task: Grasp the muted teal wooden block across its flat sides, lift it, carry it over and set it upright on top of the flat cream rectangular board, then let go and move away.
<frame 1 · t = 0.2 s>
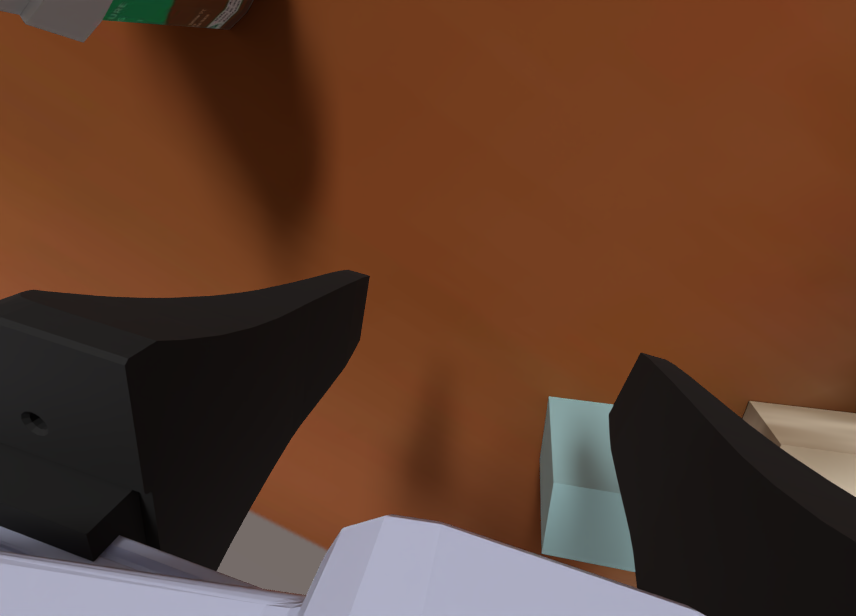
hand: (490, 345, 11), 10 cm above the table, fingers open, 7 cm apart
teal block: (586, 434, 24), on the table
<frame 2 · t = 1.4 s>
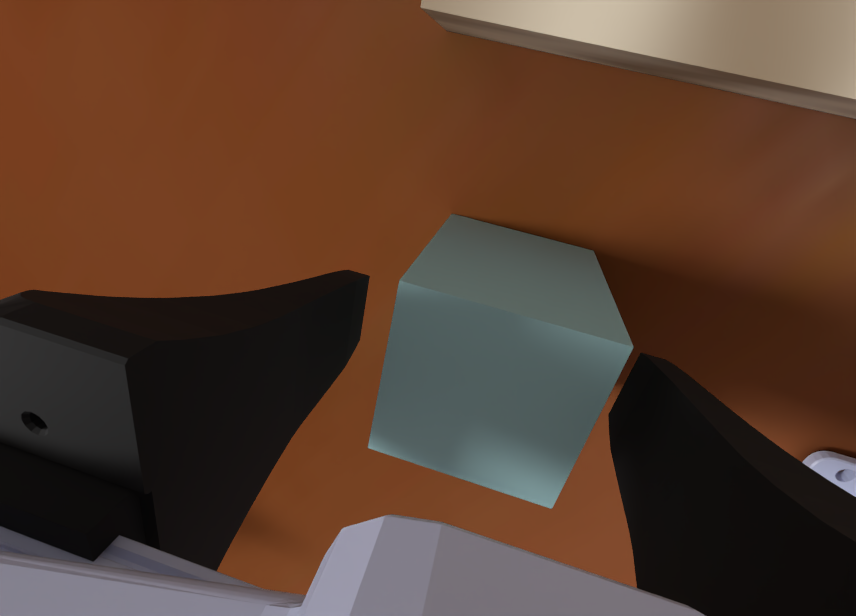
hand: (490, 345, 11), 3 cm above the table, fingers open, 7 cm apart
teal block: (501, 295, 14), on the table
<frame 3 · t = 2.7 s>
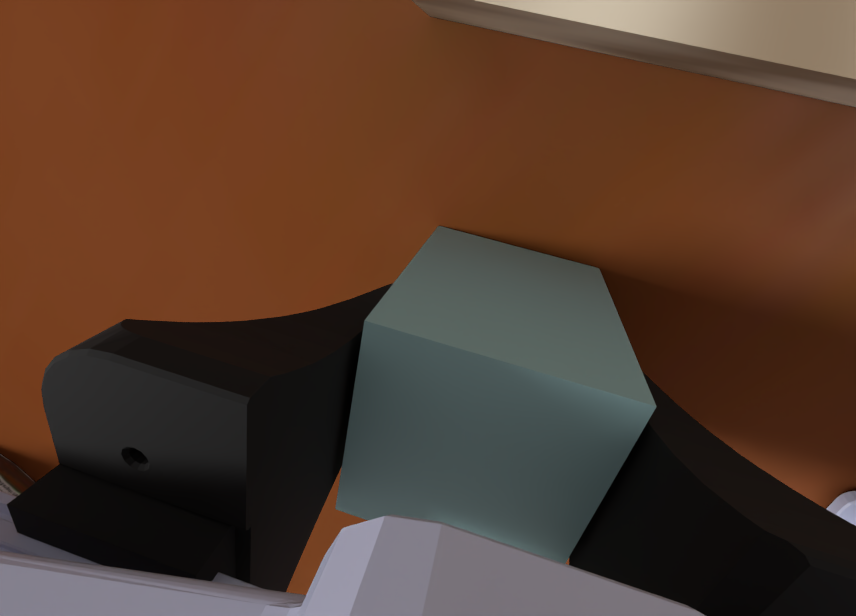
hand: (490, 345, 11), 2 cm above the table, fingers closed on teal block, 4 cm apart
teal block: (495, 316, 13), on the table, touching gripper
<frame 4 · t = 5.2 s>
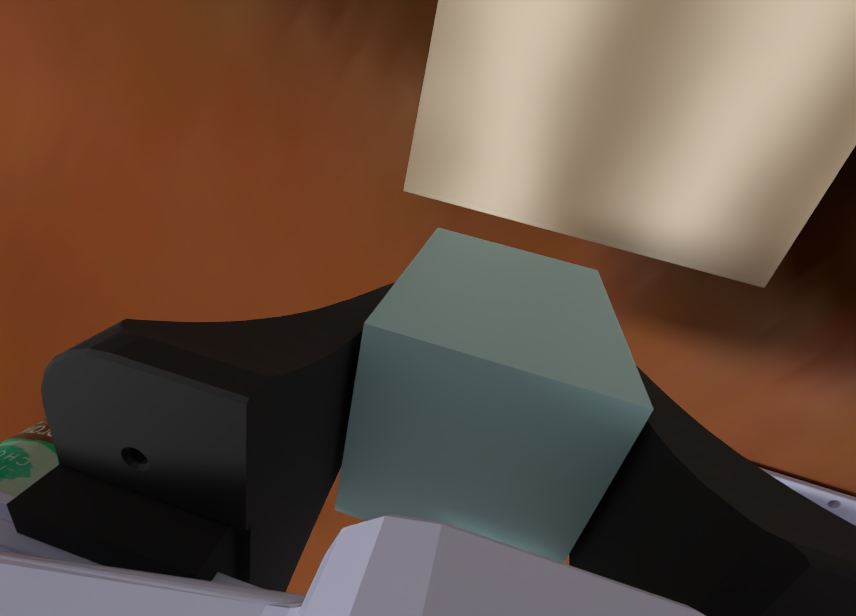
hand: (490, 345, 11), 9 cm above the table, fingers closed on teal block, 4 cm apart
food container: (83, 428, 32), on the table
teal block: (493, 318, 13), point 7 cm above the table, touching gripper
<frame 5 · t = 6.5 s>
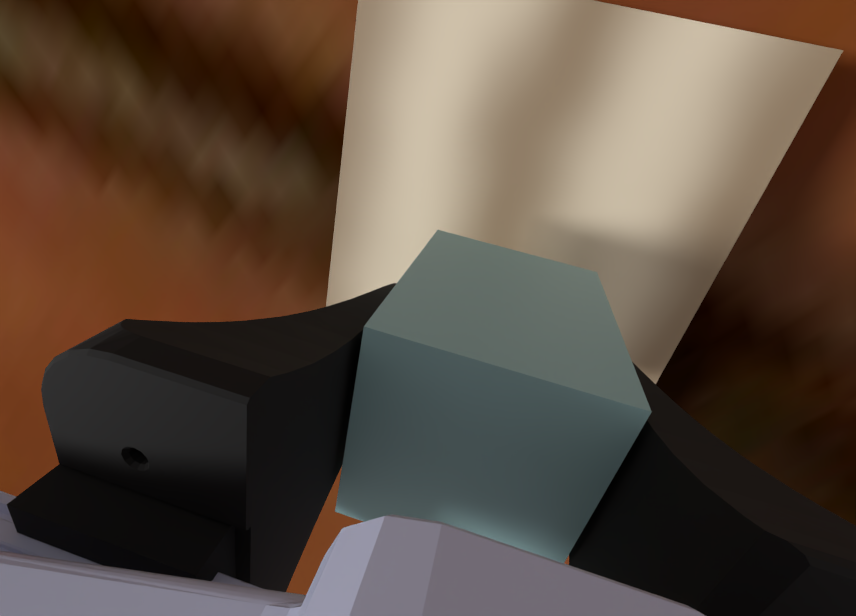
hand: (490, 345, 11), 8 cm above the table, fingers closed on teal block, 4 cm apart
flat cream rectangular board: (506, 255, 18), on the table
teal block: (493, 319, 13), point 6 cm above the table, touching gripper
when the fingers open (6 cm above the table, at t = 7.7 s): teal block stays where it is, resting on flat cream rectangular board.
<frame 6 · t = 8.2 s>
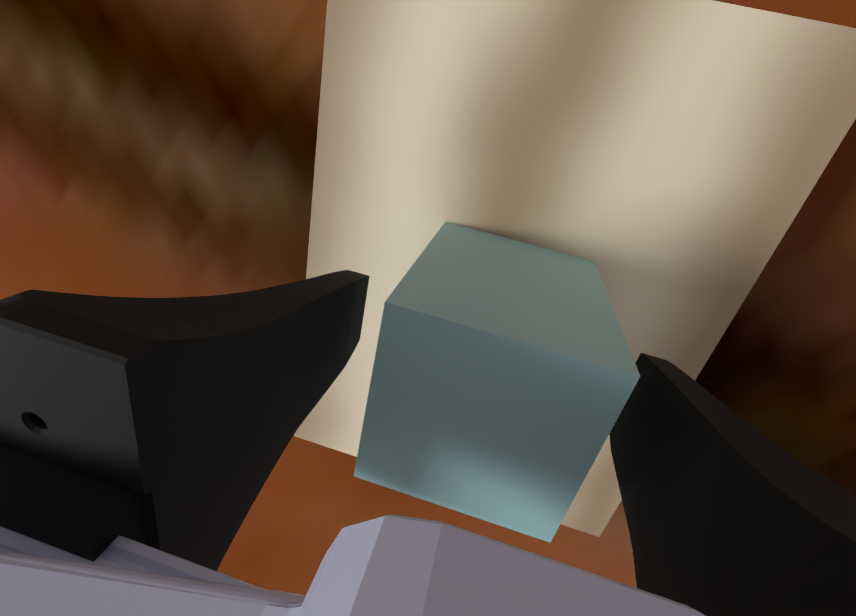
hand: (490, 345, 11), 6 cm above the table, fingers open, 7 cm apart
flat cream rectangular board: (503, 271, 16), on the table
teal block: (497, 306, 14), point 3 cm above the table, touching flat cream rectangular board
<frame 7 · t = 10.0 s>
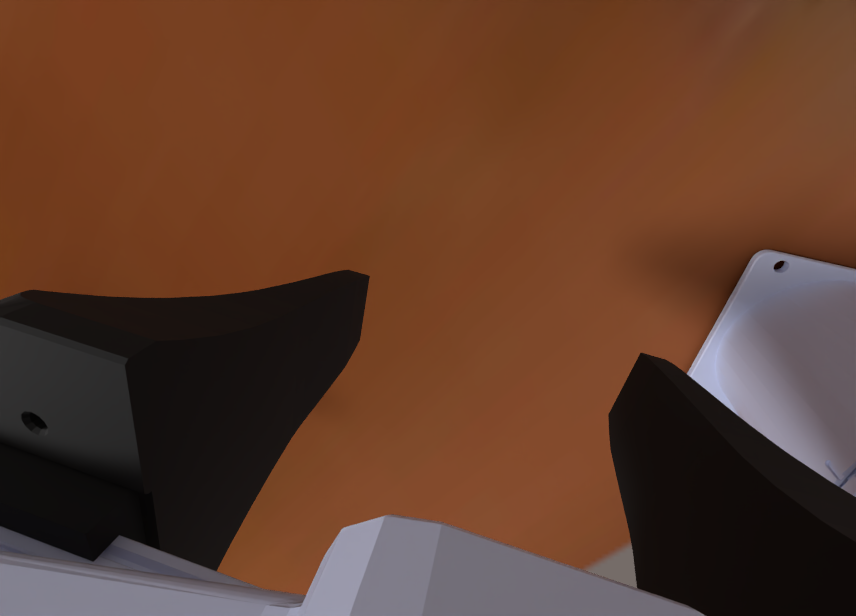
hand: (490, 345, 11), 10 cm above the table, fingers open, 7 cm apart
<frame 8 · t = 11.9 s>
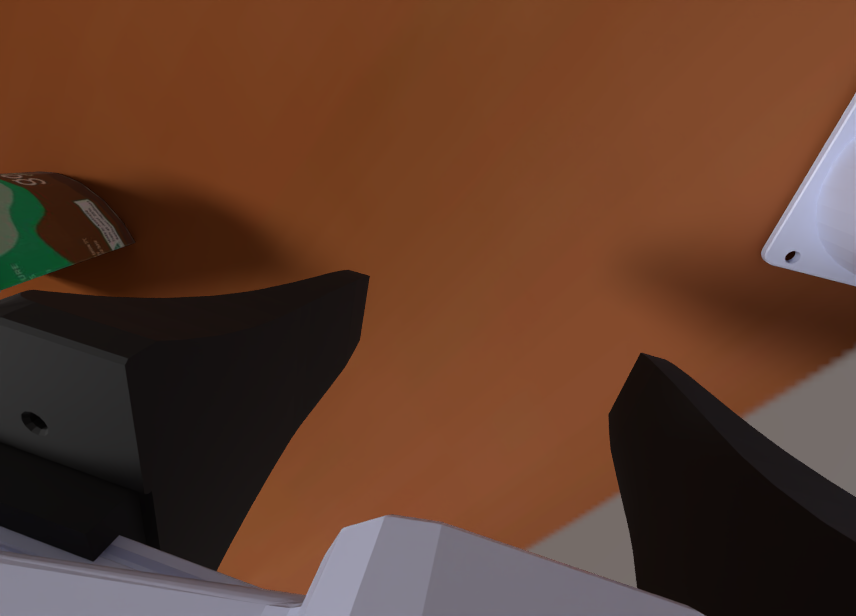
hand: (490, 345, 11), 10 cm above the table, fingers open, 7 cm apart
food container: (53, 205, 25), on the table
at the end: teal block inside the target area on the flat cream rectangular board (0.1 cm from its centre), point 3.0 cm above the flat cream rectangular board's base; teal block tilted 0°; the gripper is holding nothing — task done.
